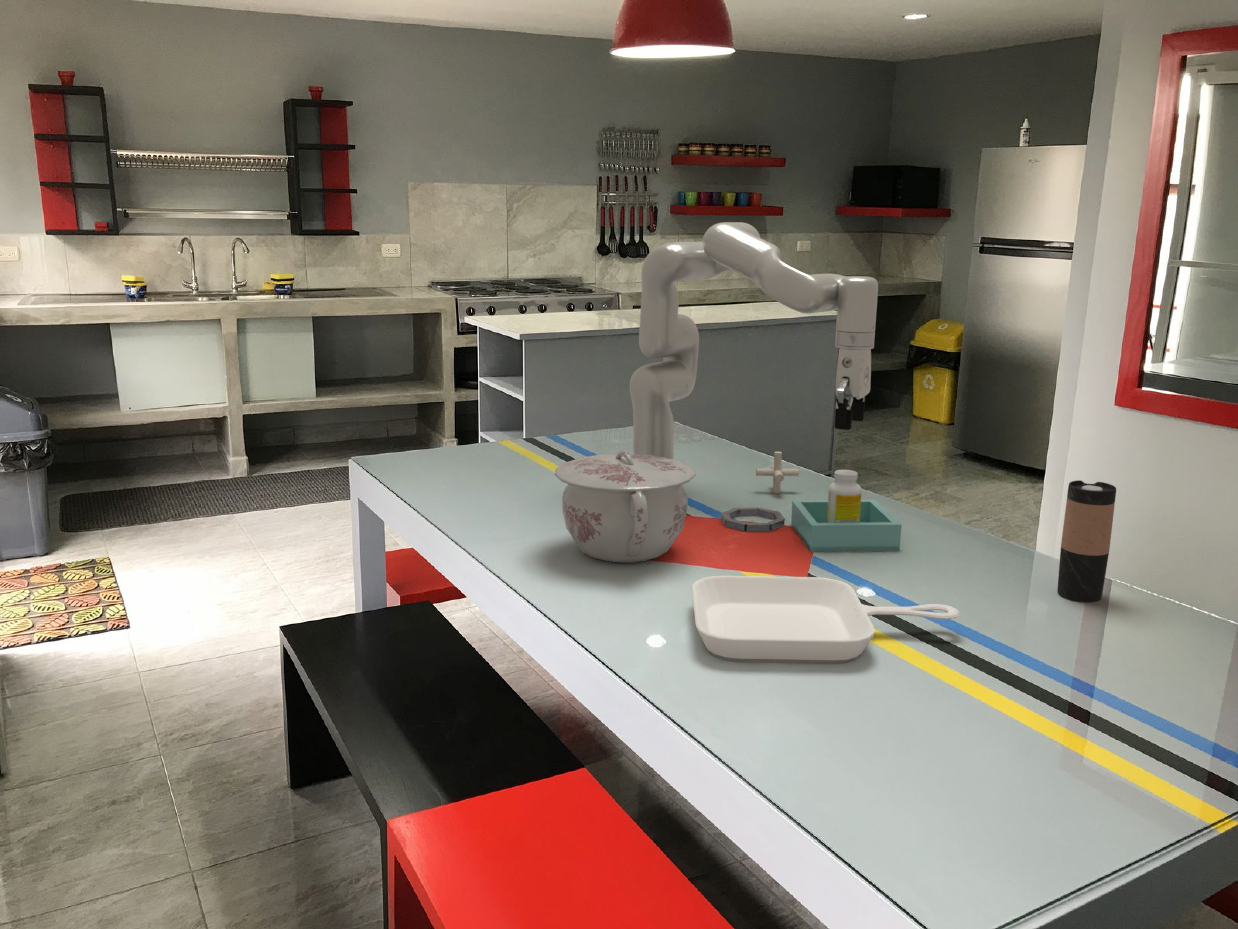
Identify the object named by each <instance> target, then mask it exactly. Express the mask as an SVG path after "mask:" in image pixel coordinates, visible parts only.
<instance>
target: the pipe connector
mask: <svg viewBox="0 0 1238 929" xmlns="http://www.w3.org/2000/svg"><path fill="white" fill-rule="evenodd" d="M782 454H783V452H782V451H774V453H773V464H772V465H771V466H770V468H756V469H755V475H756V477H772V479H773V480H772V494H774V493H775V494H776V495H777V493H778V494H779V495H780V494H781V482H783V481H784V479H785V477H799V474H800V473H799V472H800V471H799V468H782V462H783V461H782V459H783V458H782V457H783V455H782Z"/></svg>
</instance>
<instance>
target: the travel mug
mask: <svg viewBox="0 0 1238 929" xmlns="http://www.w3.org/2000/svg"><path fill="white" fill-rule="evenodd" d="M1066 496H1067V497H1066V503H1065V510H1064V511H1065V512H1064V518H1063V527H1062V534H1061V542H1060V554H1059V565H1058V568H1059V569H1058V578H1057V594H1058V595H1059V596H1060V597H1061V598H1063V599H1066V600H1070V601H1072V602H1079V603H1088V604H1089V603H1097V602H1100V601H1101V600H1102V596H1103V591H1104V585H1105V580H1106V574H1107V567H1108V561H1109V554H1110V548H1111V541H1112V540H1111V538H1112V530H1113V523H1114V522H1113V521H1114V514H1115V513H1114V512H1115V504H1116V496H1117V487H1116V486H1115V485H1113V484H1111V483H1107V482H1102V481H1096V482H1095V483H1087V482H1086V483H1085V482H1084V481H1083V480H1079V479H1078V480H1072V481H1069V483H1068V488H1067V495H1066Z"/></svg>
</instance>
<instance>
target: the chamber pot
mask: <svg viewBox="0 0 1238 929" xmlns="http://www.w3.org/2000/svg"><path fill="white" fill-rule="evenodd" d="M553 475H554V476H555V477H556V478H557V479H558V480H559V481H560V482H562V483H564V484H566V485H567V486H565V489H564V491H563V492H562V497H561V498H562V500H561V501H562V514H563V518H564V524H565V527H566V528H565V529H566V531H568V533H569V534H570V536H571V538H572V539H573V541H574V542H575V544H576V545H577V547H578V548H579V549H580V550H581V551H582V552H583V553H584V554H586V556H589V557H592V558H594V559H596V560H601V561H604V562H608V561H609V562H608V563H615V562H618V563H617V564H634V563H633V562H635V563H641V562H644V561H645V562H646V561H649V560H652V559H653V560H654V559H657V558H659V557H661V556H663V555H665V554H666V553H667V552H668V551H669V550H670V548H671V547H672V546H673V545H674V543H675V541H676V540H677V539H678V537H679V535H680V534H681V532H682V531H683V529H684V525H685V522H686V518H687V513H688V495H687V494H688V493H687V491H686V489H685V488H684V487H683V485H685V484H687V483H689V482H690V481H691V480H692V479H694V477H696V472H695V469H694V468H693V467H692V466H690V465H689V464H686V463H685V462H682V461H680V460H676V459H674V460H673V459H669V458H665V457H659V456H653V455H643V454H633V453H630V451H627V450H625V449H622V450H620V451H619V452H618V453H607V454H596V455H589V456H584V457H580V458H576V459H572V460H569V461H565V462H563V463H562V464H561V465H559V466H558V467H556V468H555V469H554V474H553Z"/></svg>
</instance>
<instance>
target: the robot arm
mask: <svg viewBox="0 0 1238 929" xmlns="http://www.w3.org/2000/svg"><path fill="white" fill-rule="evenodd" d="M760 235H761V234H760V232H759V231H758V230H757V229H756V228H755V227H754V226H753V225H751V224H750V223H747V222H741V221H739V222H737V221H735V222H733V221H732V222H731V221H727V222H725V221H724V222H718V223H715V224H713V225H712V226H710V227H708V229H707V230H706V231H705V233H704V234H703V237H702V240H701V241H673V242H667V243H664V244H661V245H659V246H656V247H655V248H653V249H652V250H651V251H650V252H649V253H648V254H647V255H646V256H645V258H644V261H643V264H642V266H641V273H640V274H641V280H640V281H641V303H640V315H639V318H640V319H639V330H638V331H639V332H638V346H639V350H640V351H641V353H642V354H643V355H644V356H645V357H648V358H651V359H660V358H661V359H663V360H662V361H658V362H657V361H656V362H653V363H648V364H644V365H642V366H639V368H637V369H636V370H635V371H634V372H633V373H632V375H631V377H630V380H629V394H630V398H631V399H630V400H631V404H632V420H633V421H632V422H633V430H632V431H633V449H632V450H633V453H632V454H643V455H653V456H659V457H665V458H669V459H673V460H675V458H674V454H675V452H674V449H675V448H674V446H675V421H674V415H673V413H672V409H671V406H670V403H671V402H674V401H678V400H679V401H680V400H682V399H684V398H687V397H688V396H689V395H690V394H691V393H692V392H693V390H694V388H695V386H696V385H695V384H696V380H697V374H698V373H697V371H698V362H699V361H698V359H699V349H700V347H699V346H700V335H699V334H700V333H699V331H698V330H699V329H698V327H697V324H696V323H695V322H694V320H693V319H692V318H691V317H689V316H688V315H686V314H682V313H679V306H680V299H679V298H680V296H679V292H678V289H677V287H676V283H677V282H686V281H687V282H688V281H691V282H692V281H702V280H703V281H704V280H709V279H711V278H714V277H717V276H719V275H721V274H724V273H725V272H728V271H730V270H731V271H733V272H735V273H736V274H739V275H741V276H742V277H743V278H746V279H748V280H751V282H754V284H757V286H758V287H759V289H760V290H762V292H763V293H764V294H765V295H766V296H768V297H769V298H771V299H772V300H773V301H776V302H777V303H779V304H782V305H783V306H785V307H787V308H789V309H792V310H793V311H796V312H799V313H802V314H806V315H807V314H817V313H825V312H832V311H836V322H835V323H836V324H835V325H836V326H835V338H834V339H835V340H834V341H835V342H834V344H835V345H834V347H835V348H837V349H839V350H838V356H837V364H836V365H837V366H836V376H835V396H836V397H837V398H836V401H835V402H836V403H835V410H834V412H835V413H834V414H835V416H834V429H835V430H846V431H850V430H851V429H852V422H853V421H856V422H863V421H864V420H865V419H864V417H865V404H866V403H865V401H866V396H867V395H868V394H869V393H870V392H871V385H872V384H871V383H872V382H871V381H872V380H871V378H872V377H871V376H872V351H871V350H872V349H874V348H875V337H876V336H875V335H876V332H875V331H876V322H877V308H878V297H879V296H878V294H879V282H878V280H877V279H876V278H875V277H871V276H864V275H863V276H859V275H858V276H857V275H852V276H849V275H848V276H846V275H842V274H836V273H831V272H830V273H814V274H807V273H805V272H803V271H800V270H799V269H796V268H795V267H792V266H791V265H789V264H786V262H784V261H782V260H781V251H780V248H779V247H778V246H777V245H775V244H773V243H771V242H769V241H767V240H765V239H763V238H761V236H760Z"/></svg>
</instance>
